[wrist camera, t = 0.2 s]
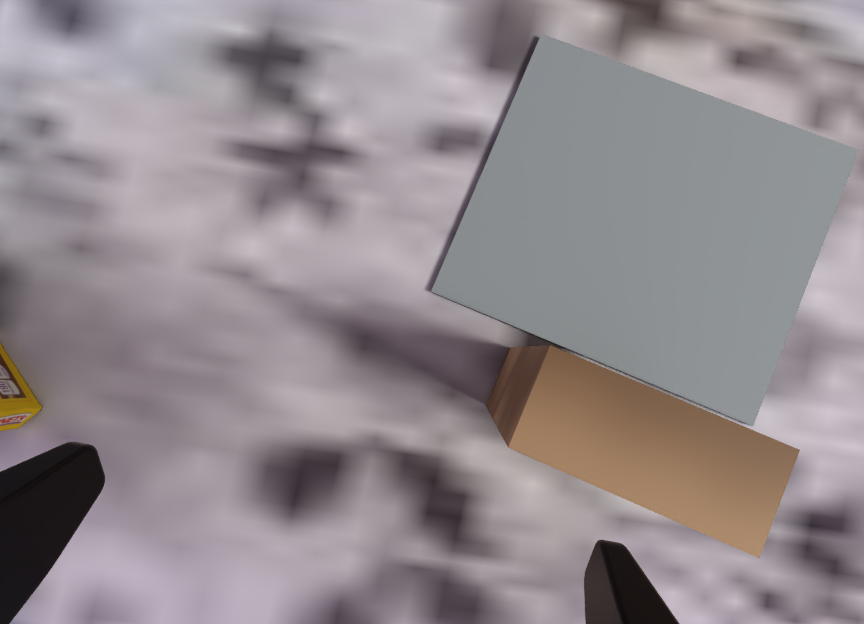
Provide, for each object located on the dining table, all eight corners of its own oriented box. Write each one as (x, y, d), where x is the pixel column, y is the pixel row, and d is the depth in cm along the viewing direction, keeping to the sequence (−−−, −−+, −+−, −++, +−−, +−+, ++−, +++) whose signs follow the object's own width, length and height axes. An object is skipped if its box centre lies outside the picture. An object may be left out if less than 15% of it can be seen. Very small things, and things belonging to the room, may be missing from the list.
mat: (748, 425, 22) (752, 425, 22) (431, 292, 24) (430, 291, 23) (853, 152, 23) (858, 149, 23) (540, 37, 24) (541, 33, 24)
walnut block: (625, 465, 22) (759, 557, 12) (486, 405, 23) (508, 447, 13) (648, 406, 23) (799, 450, 13) (509, 347, 23) (550, 345, 13)
